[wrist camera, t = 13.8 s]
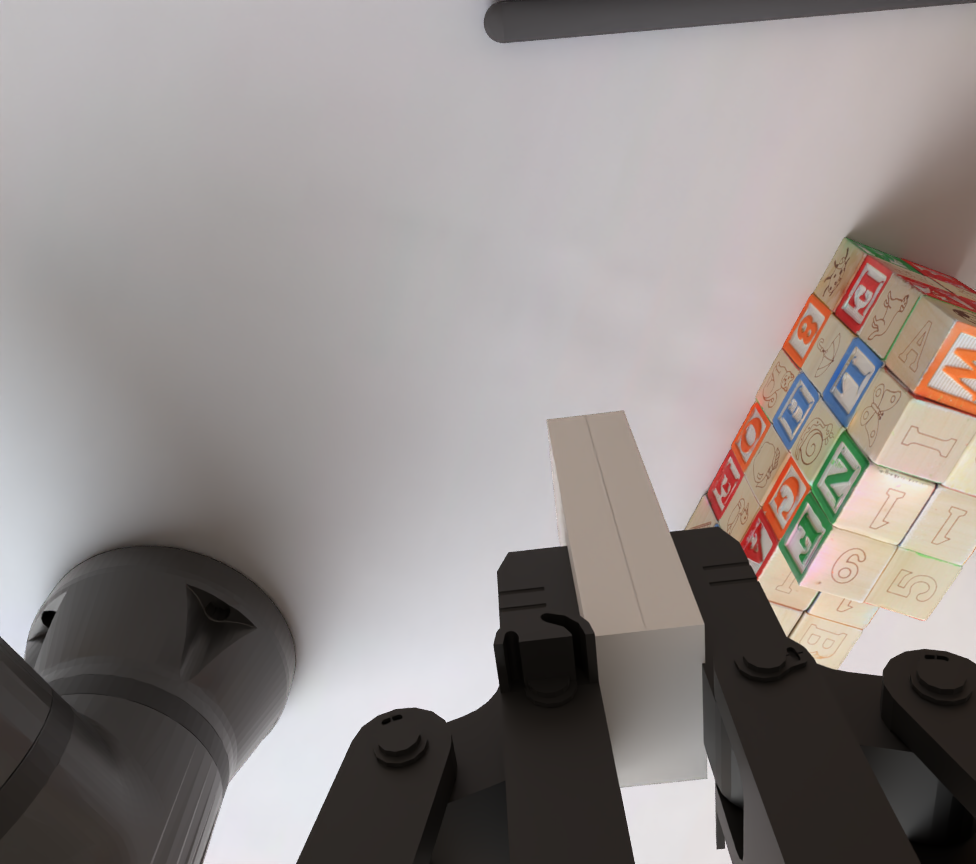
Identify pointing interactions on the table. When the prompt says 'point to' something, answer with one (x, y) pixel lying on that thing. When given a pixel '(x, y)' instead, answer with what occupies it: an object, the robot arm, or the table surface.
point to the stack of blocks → (858, 453)
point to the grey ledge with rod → (659, 14)
